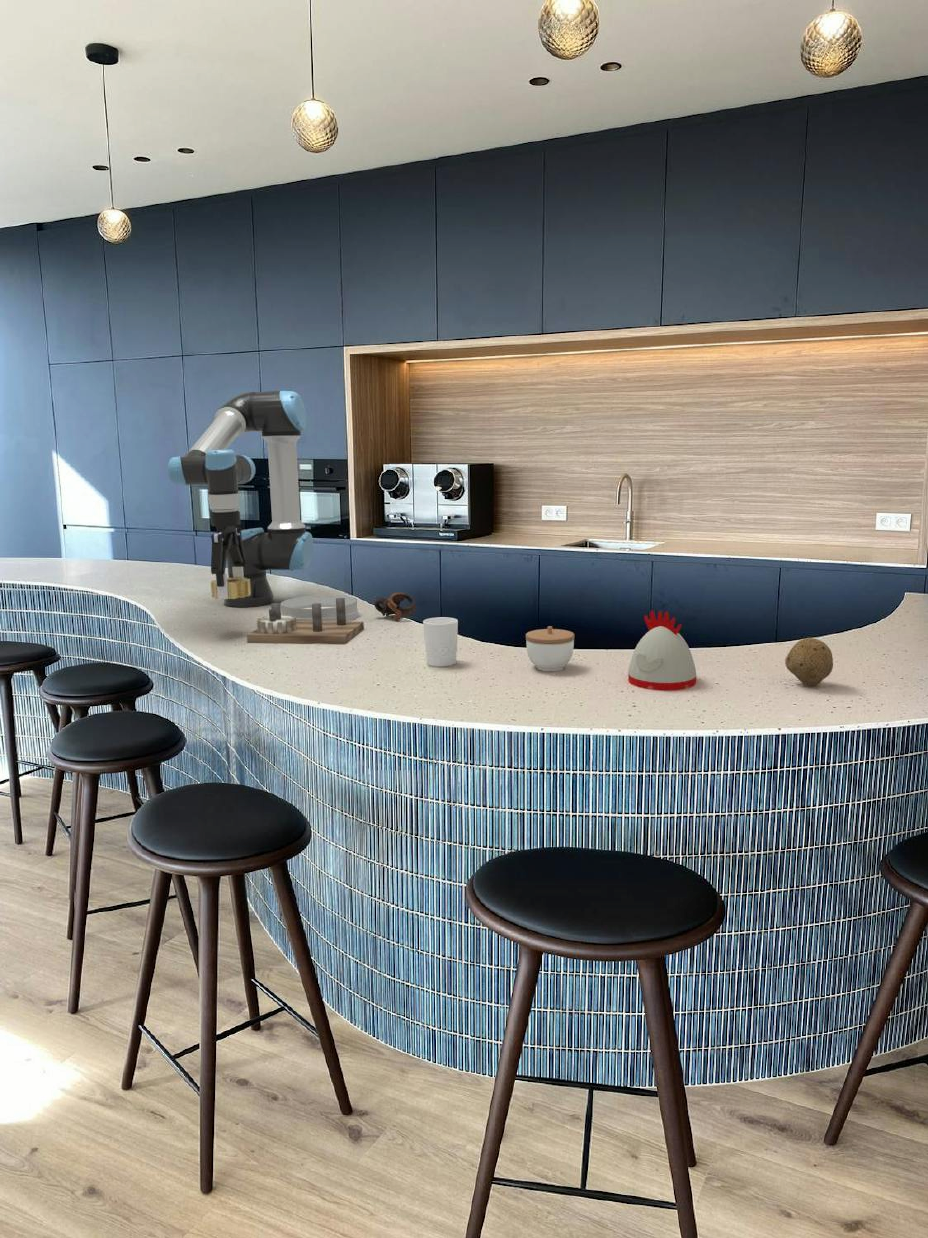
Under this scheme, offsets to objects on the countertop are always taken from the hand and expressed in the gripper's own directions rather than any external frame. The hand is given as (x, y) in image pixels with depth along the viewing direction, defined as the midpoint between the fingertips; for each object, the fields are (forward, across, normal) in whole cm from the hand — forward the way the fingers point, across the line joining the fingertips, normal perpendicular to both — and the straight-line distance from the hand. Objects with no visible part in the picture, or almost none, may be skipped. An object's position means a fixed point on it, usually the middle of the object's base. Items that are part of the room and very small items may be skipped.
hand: (231, 594), depth 243 cm
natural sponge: (+11, +38, +139) cm, 144 cm away
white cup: (+11, +26, +61) cm, 67 cm away
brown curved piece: (+12, -24, +38) cm, 47 cm away
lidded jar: (+11, +28, +86) cm, 91 cm away
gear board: (+11, 0, +20) cm, 23 cm away
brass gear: (0, 0, 0) cm, 0 cm away
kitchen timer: (+11, +36, +110) cm, 116 cm away
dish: (+12, -24, +16) cm, 31 cm away
